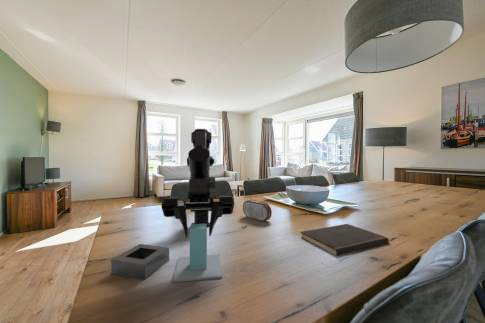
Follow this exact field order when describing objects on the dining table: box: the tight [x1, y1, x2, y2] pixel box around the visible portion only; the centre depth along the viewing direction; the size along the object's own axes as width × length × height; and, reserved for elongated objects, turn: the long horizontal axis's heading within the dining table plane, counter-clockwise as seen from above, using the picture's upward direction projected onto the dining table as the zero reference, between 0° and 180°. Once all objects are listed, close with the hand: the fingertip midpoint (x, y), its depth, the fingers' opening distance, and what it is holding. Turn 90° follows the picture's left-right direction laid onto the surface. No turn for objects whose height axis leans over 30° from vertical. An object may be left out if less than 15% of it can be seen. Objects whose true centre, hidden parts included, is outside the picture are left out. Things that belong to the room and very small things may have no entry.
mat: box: [172, 253, 223, 283], centre depth 54 cm, size 11×11×1 cm
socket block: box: [110, 243, 170, 281], centre depth 54 cm, size 9×9×4 cm
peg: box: [189, 224, 208, 270], centre depth 54 cm, size 4×4×10 cm
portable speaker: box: [242, 198, 273, 222], centre depth 95 cm, size 15×3×8 cm, turn 47°
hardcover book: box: [299, 223, 390, 257], centre depth 72 cm, size 16×23×2 cm
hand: (198, 236), depth 52 cm, fingers open, 5 cm apart
